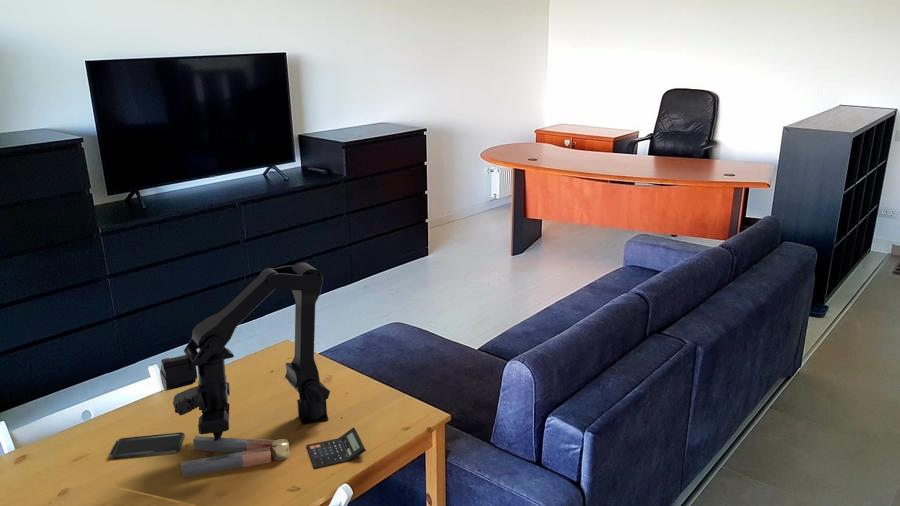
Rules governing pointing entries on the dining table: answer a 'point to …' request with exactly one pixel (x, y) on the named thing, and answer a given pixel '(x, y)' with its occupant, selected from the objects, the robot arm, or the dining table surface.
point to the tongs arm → (242, 445)
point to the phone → (147, 445)
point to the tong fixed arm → (226, 462)
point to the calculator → (336, 450)
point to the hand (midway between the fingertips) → (217, 438)
